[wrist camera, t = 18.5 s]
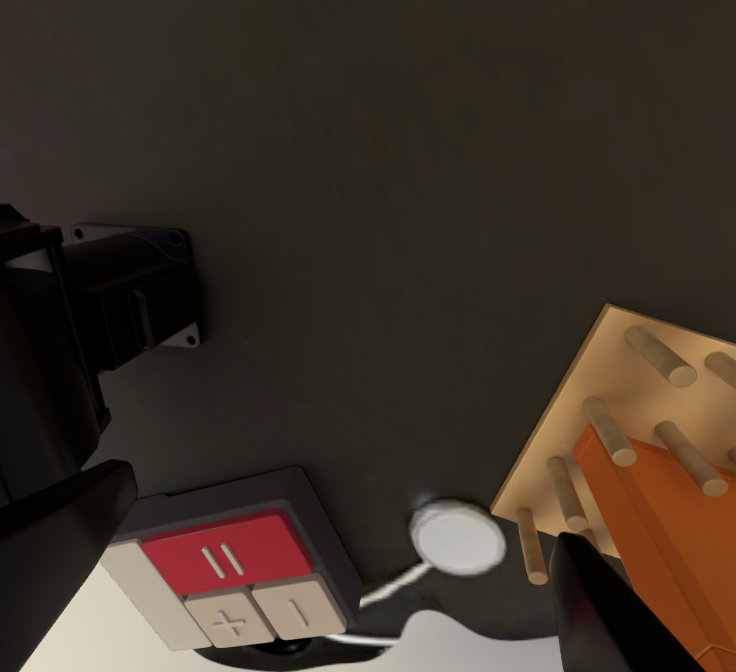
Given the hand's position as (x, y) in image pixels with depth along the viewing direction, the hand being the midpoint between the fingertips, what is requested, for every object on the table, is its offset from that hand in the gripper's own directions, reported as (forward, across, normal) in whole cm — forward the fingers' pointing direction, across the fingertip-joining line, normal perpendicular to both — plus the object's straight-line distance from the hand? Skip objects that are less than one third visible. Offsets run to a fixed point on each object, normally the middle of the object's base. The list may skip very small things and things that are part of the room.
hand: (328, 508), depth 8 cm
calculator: (+13, +10, +19) cm, 25 cm away
